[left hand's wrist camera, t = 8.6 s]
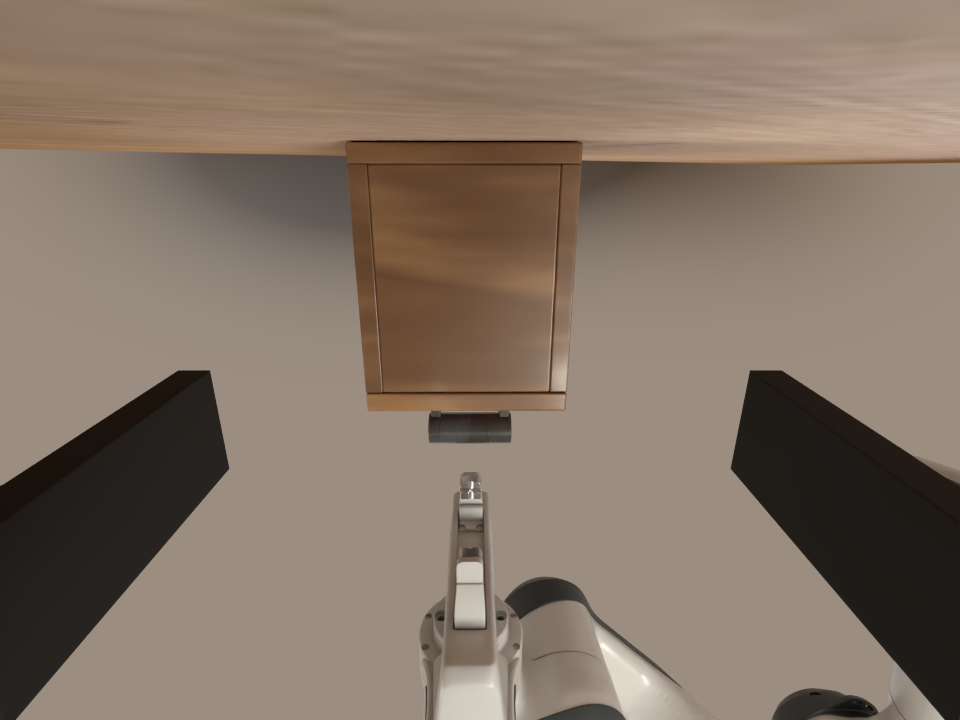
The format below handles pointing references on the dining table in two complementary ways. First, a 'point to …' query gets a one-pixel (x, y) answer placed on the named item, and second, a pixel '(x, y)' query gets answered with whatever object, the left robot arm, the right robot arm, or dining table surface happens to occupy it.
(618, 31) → the dining table surface
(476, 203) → the chest
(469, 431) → the lid
